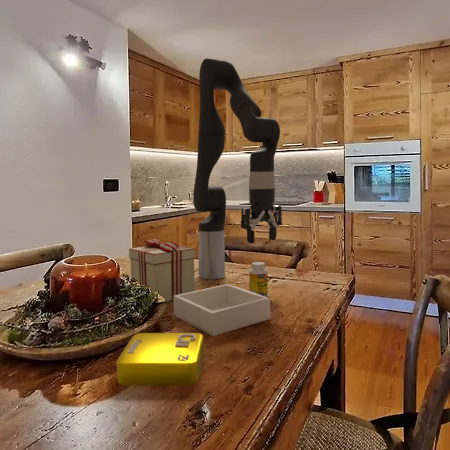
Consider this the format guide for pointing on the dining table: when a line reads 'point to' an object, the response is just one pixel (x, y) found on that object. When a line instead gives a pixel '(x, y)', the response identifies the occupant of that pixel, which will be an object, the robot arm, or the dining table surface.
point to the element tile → (161, 359)
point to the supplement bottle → (258, 279)
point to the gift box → (163, 267)
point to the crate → (221, 308)
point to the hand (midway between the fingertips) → (261, 241)
